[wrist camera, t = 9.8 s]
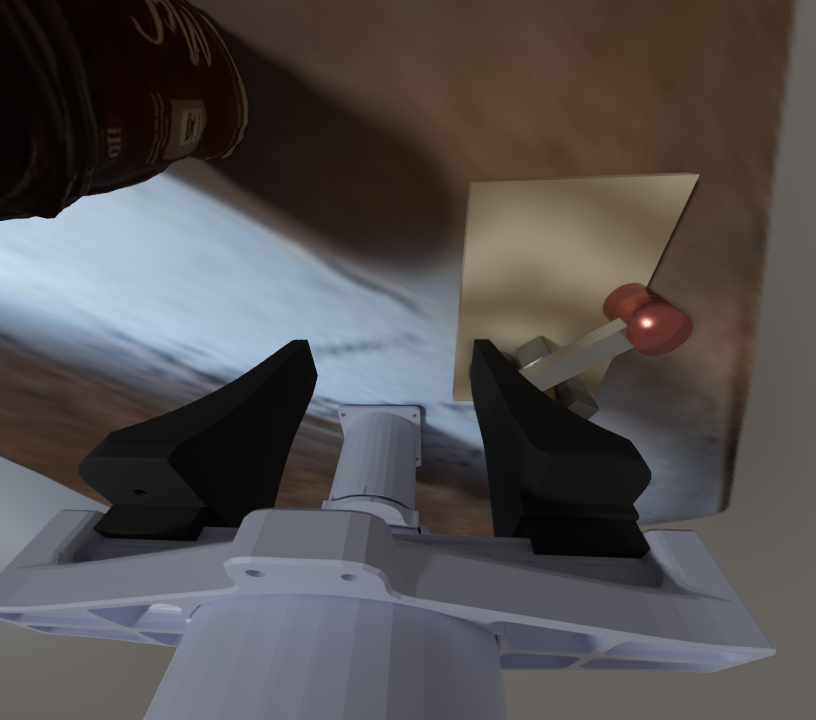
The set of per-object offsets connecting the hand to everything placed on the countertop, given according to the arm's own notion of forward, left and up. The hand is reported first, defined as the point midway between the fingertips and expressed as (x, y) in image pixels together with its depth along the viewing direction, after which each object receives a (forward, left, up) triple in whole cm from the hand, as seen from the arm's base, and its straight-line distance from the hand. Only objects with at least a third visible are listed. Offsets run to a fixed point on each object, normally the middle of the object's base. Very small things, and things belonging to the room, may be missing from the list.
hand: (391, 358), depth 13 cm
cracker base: (-4, -10, -10) cm, 15 cm away
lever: (-5, -11, -9) cm, 15 cm away
